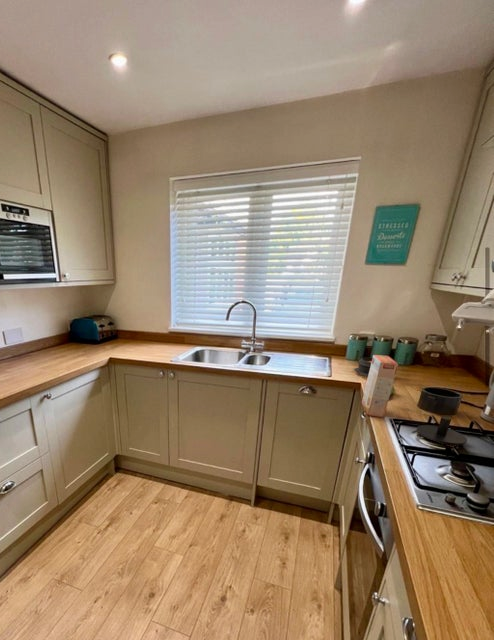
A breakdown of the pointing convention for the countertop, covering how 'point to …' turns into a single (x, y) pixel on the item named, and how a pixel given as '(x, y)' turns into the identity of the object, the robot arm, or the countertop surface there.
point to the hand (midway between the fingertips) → (472, 331)
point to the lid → (442, 433)
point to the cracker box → (379, 385)
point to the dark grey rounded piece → (364, 366)
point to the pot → (439, 401)
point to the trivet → (437, 441)
